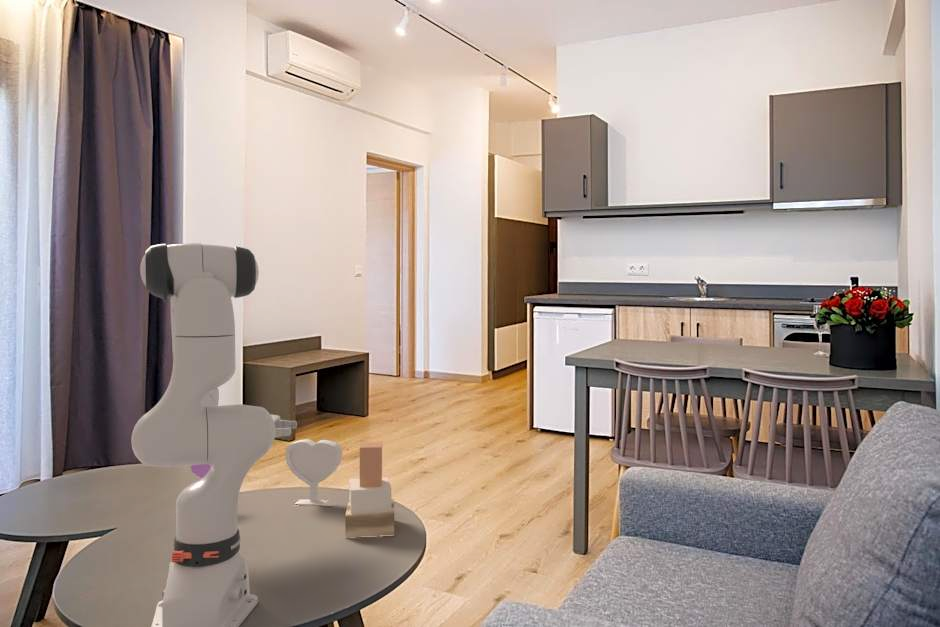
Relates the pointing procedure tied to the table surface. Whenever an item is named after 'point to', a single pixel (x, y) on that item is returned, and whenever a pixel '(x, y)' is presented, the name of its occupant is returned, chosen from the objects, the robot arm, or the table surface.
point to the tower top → (369, 497)
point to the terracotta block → (371, 464)
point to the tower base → (369, 523)
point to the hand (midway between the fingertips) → (293, 428)
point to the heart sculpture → (313, 463)
